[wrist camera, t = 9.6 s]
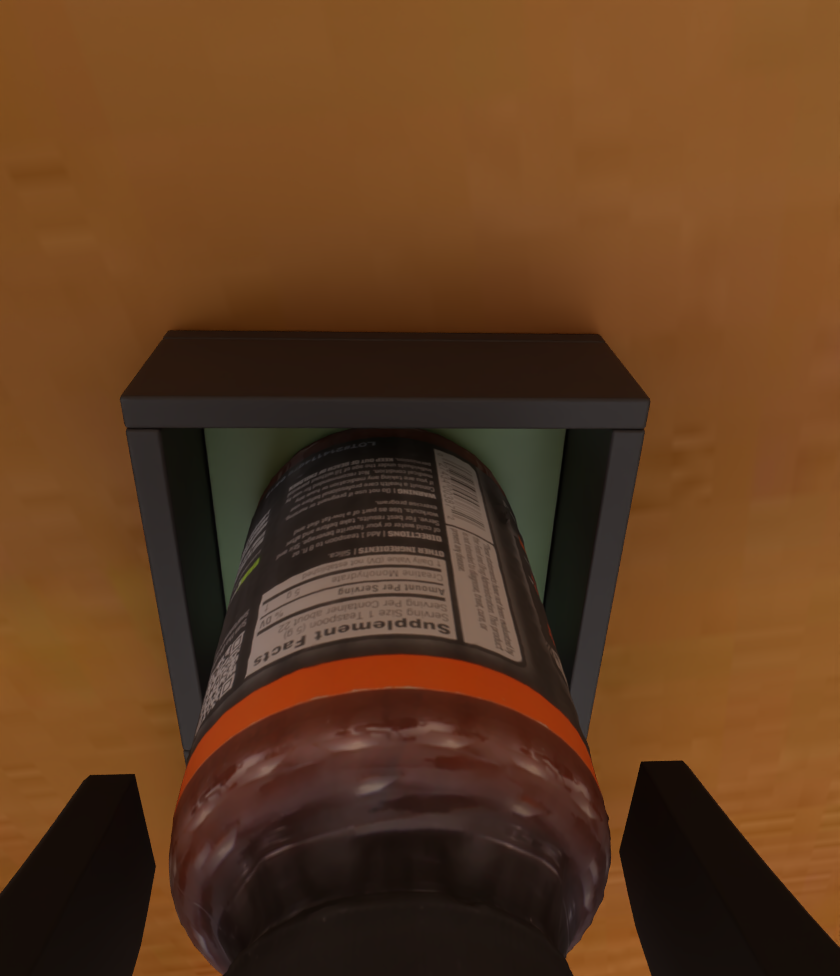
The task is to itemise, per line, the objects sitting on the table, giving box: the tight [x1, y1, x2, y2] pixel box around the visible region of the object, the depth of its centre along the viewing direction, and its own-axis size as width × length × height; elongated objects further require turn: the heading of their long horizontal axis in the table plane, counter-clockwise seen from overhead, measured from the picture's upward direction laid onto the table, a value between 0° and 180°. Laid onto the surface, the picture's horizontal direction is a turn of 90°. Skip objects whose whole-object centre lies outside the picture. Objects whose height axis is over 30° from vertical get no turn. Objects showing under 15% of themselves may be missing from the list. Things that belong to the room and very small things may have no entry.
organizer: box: [120, 330, 650, 763], centre depth 19 cm, size 17×9×4 cm, turn 179°
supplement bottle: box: [169, 428, 611, 976], centre depth 13 cm, size 6×6×11 cm
